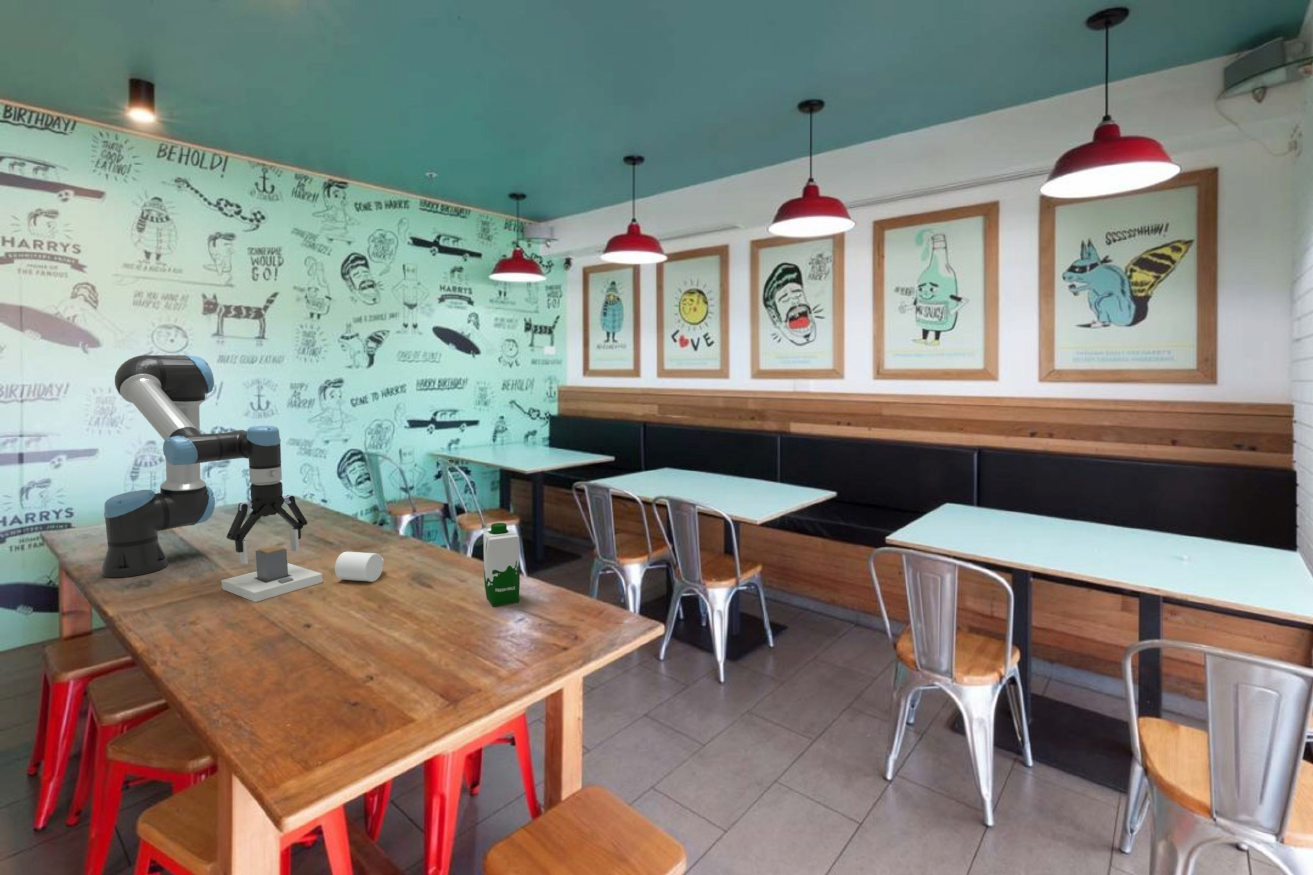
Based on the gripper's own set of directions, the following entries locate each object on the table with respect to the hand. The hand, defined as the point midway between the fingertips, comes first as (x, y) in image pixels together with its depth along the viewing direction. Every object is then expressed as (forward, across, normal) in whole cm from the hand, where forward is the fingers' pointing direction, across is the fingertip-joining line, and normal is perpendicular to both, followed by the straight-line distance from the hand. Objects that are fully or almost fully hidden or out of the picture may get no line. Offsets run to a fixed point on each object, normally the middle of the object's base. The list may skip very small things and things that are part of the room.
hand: (270, 556), depth 175 cm
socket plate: (+8, 0, -1) cm, 8 cm away
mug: (+8, +18, -16) cm, 25 cm away
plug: (+8, 0, -1) cm, 8 cm away
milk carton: (+7, +27, -63) cm, 69 cm away
